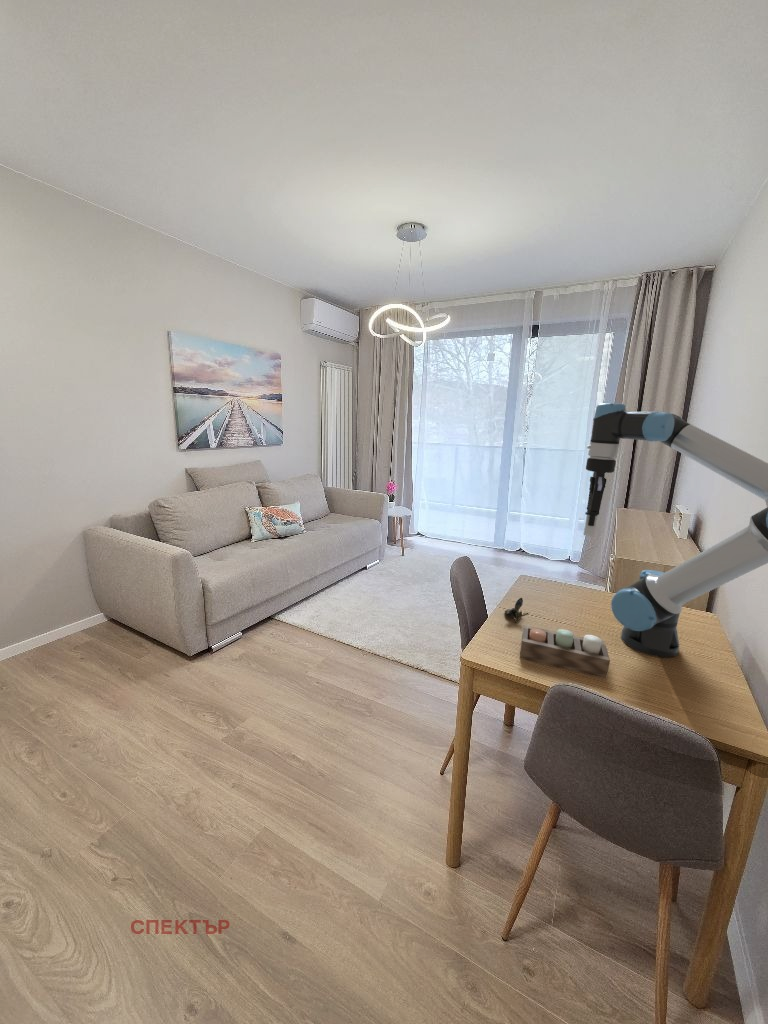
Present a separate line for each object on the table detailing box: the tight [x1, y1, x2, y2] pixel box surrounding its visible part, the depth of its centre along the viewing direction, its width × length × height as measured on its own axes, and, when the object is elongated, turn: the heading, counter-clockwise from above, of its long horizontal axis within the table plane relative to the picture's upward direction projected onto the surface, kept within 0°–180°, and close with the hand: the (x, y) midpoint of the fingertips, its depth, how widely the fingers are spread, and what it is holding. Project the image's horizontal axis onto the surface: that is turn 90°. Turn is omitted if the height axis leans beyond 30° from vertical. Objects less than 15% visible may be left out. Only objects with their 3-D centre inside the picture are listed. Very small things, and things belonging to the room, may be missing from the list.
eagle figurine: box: [504, 597, 529, 624], centre depth 140 cm, size 8×7×9 cm
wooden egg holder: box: [519, 624, 611, 680], centre depth 117 cm, size 22×10×6 cm, turn 69°
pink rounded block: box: [529, 628, 546, 643], centre depth 119 cm, size 4×4×5 cm
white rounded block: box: [582, 634, 603, 655], centre depth 114 cm, size 4×4×5 cm
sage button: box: [555, 628, 575, 649], centre depth 116 cm, size 4×4×5 cm
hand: (588, 535), depth 126 cm, fingers closed
